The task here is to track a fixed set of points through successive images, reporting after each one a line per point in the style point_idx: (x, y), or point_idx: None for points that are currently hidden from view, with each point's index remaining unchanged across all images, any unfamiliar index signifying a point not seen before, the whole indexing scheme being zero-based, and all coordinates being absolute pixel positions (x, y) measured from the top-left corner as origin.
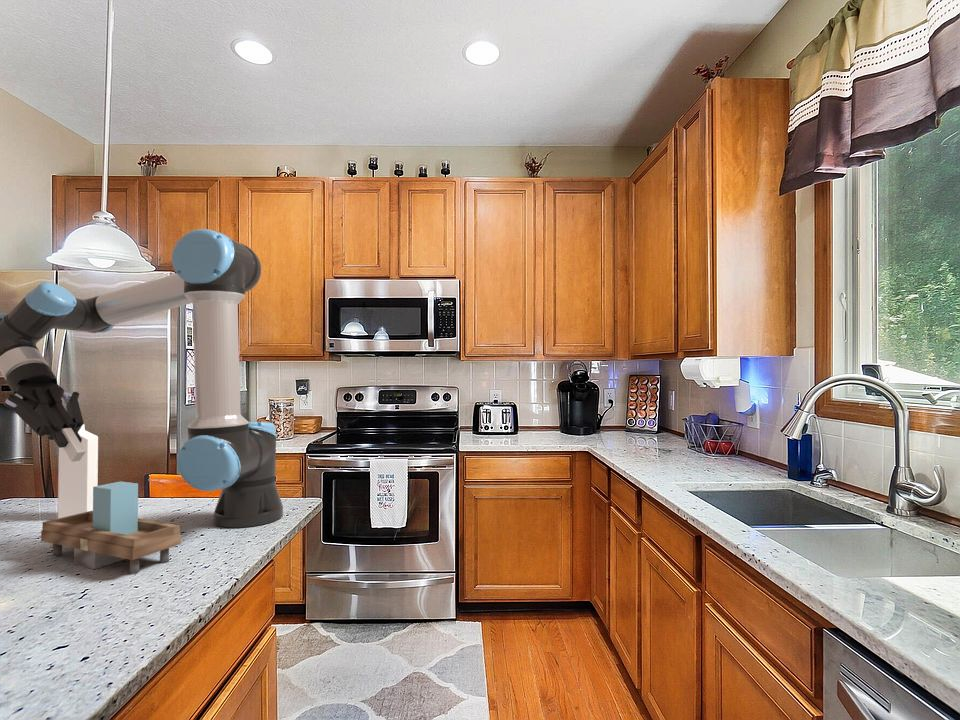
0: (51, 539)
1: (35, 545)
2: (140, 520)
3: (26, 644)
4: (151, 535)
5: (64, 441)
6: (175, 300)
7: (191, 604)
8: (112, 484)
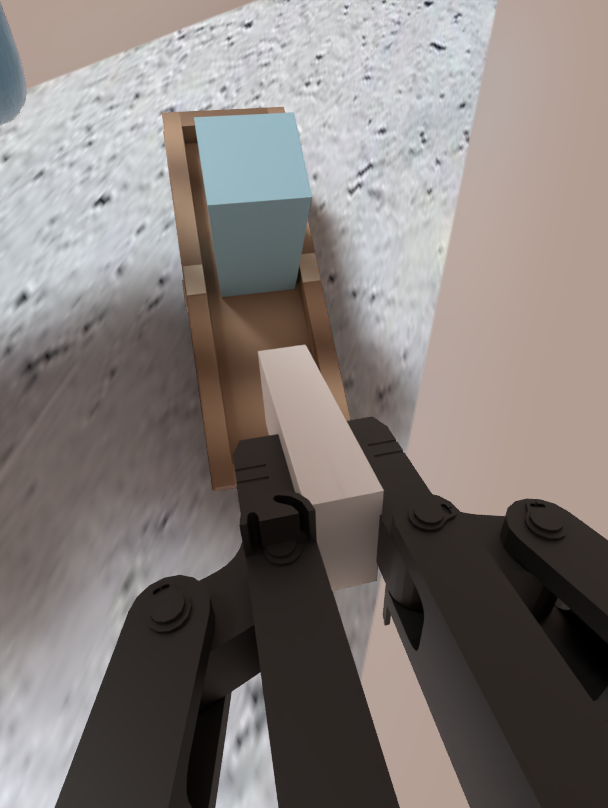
0: None
1: None
2: (189, 237)
3: (462, 85)
4: (241, 111)
5: (363, 425)
6: None
7: (281, 13)
8: (253, 177)
